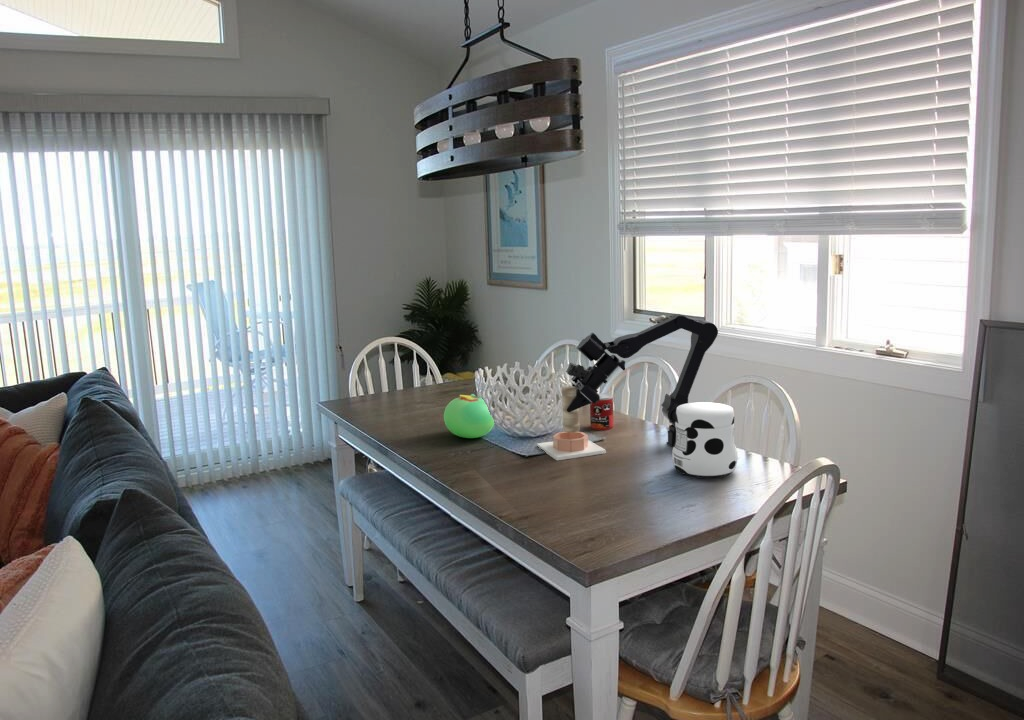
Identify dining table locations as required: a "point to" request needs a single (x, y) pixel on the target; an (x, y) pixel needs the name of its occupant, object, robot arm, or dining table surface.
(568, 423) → the beech peg
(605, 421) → the canned food
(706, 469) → the milk container
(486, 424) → the toy bird
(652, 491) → the dining table surface
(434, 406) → the dining table surface
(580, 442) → the octagonal ring base
